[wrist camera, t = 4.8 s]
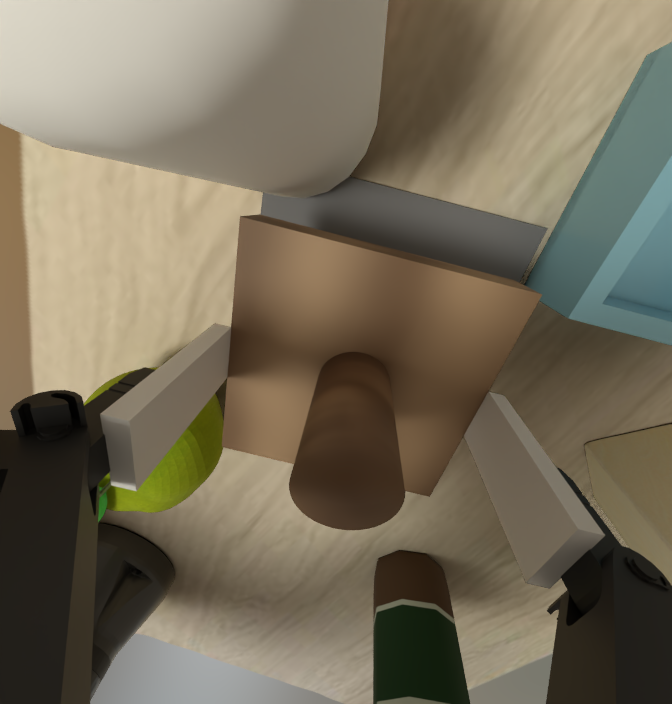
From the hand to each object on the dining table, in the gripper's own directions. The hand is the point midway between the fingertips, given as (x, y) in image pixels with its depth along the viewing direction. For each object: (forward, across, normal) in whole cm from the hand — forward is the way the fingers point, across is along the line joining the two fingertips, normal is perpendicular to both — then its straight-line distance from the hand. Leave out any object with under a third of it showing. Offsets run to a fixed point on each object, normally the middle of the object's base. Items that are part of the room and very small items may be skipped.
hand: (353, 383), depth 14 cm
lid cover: (+3, 0, 0) cm, 3 cm away
